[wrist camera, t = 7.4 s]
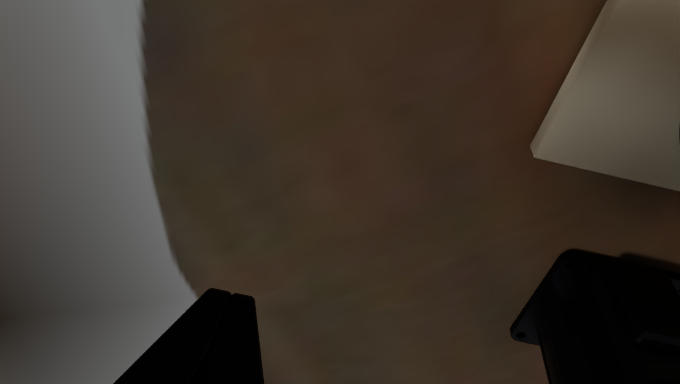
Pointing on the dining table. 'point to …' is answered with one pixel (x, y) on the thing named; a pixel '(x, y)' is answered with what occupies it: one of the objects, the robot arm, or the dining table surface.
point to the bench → (621, 97)
